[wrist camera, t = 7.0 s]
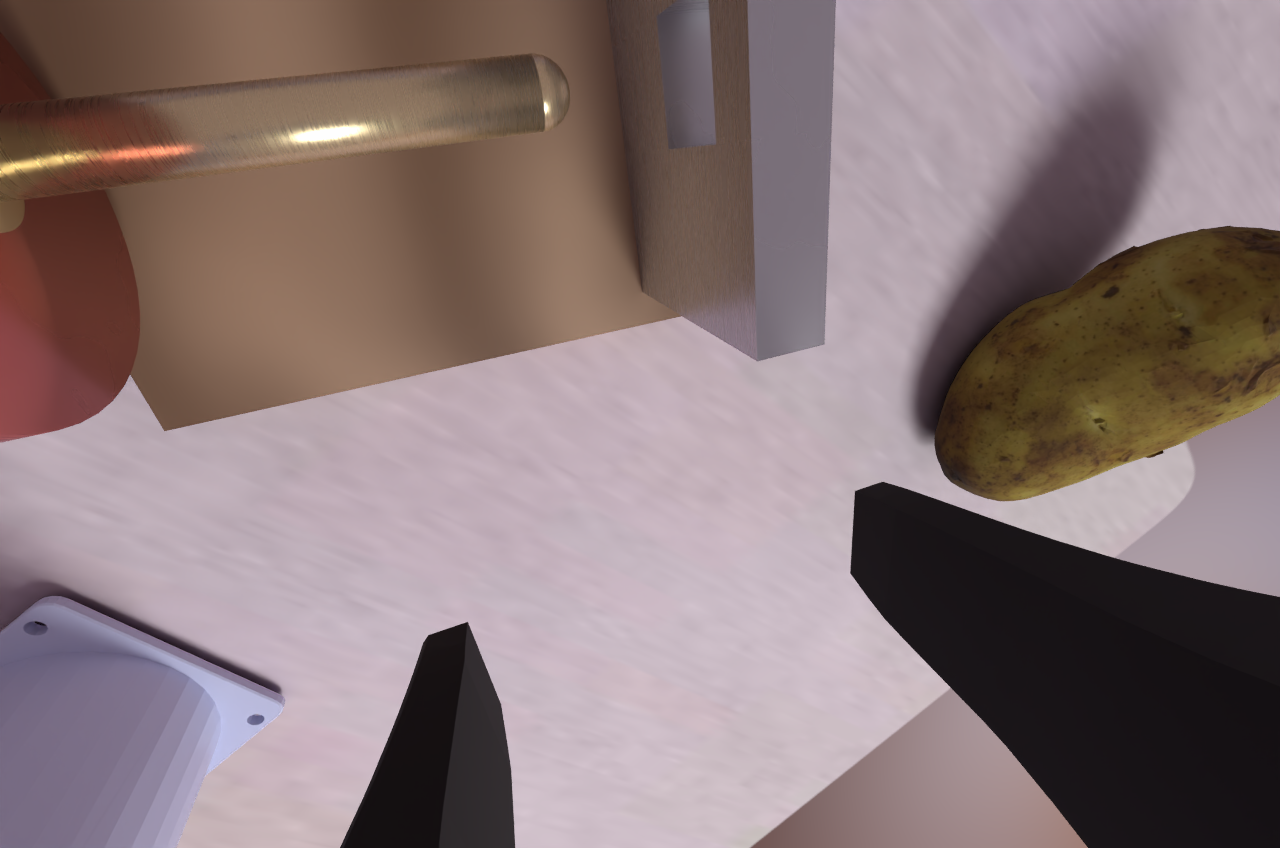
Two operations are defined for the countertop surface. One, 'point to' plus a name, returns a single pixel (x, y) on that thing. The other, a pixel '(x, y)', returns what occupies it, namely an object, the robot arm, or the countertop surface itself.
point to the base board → (355, 201)
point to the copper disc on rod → (178, 149)
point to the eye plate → (730, 161)
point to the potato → (1117, 365)
